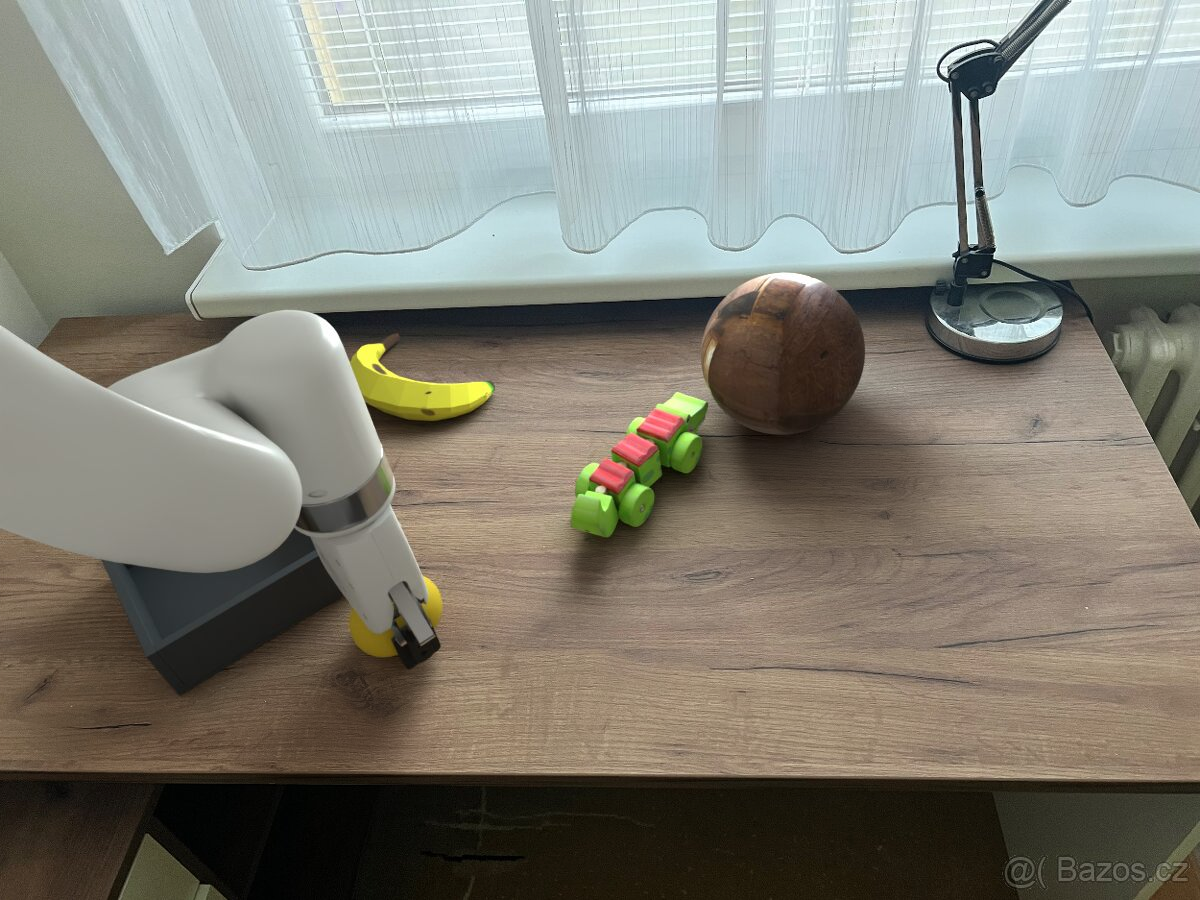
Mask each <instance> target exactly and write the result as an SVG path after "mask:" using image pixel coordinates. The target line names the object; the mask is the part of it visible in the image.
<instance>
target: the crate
mask: <svg viewBox="0 0 1200 900" xmlns="http://www.w3.org/2000/svg"><path fill="white" fill-rule="evenodd" d="M100 560H101V563H102V565H103V567H104V569H105V572H106V573H107V576H108V578H109V580H110V582H111V584H112V587H113V588H114V591H115V594H116V596H117V597H118V599H119V602H120V604H121V606H122V609H123V610H124V612H125V615H126V617H127V619H128V621H129V623H130V625H131V627H132V629H133V632H134V634H135V636H136V638H137V640H138V642H139V645H140V647H141V649H142V651H143V653H144V655H145V657H146V659H147V660H148V661H149V662H150V663H151V665H152V666H153V667H154V668H155V670H156V671H157V672H158V673H159V674H160V675H161V677H162V678H163V679H164V680H165V681H166V682H167V684H168V685H169V686H170V687H171V689H172V690H173V691H174V692H175V693H176V694H177V695H178V697H179V696H180V697H181V696H183V694H186V693H187V692H189V691H190V690H193V688H195V687H197V686H198V685H200V684H201V683H203V682H204V681H206V680H208V679H209V678H211V677H213V676H214V675H216V674H217V673H219V672H221V671H223V670H224V669H226V668H227V667H229V666H230V665H231V666H232V664H234V663H235V662H237V661H239V660H240V659H242V658H244V657H245V656H247V655H249V654H251V653H252V652H253V651H255V650H256V649H259V648H260V647H261V646H263V645H265V644H266V643H268V642H269V641H271V640H273V639H274V638H276V637H277V636H279V635H281V634H283V633H284V632H286V631H287V630H289V629H291V628H292V627H294V626H296V625H298V623H301V622H302V621H304V620H305V619H307V618H309V617H311V615H313V614H315V613H316V612H318V611H320V610H321V609H323V608H325V607H326V606H328V605H329V604H331V603H333V602H334V601H336V600H337V599H339V598H341V597H342V596H344V595H343V593H342V592H341V591H340V589H339V588H338V586H337V585H336V584H335V582H334V581H333V579H332V578H331V576H330V575H329V573H328V572H327V570H326V569H325V567H324V565H323V563H322V561H321V559H320V557H319V555H318V553H317V551H316V548H315V546H314V544H313V542H312V540H311V537H310V536H307V535H305V534H303V533H300V532H299V531H297V530H296V529H295V528H293V530H292V531H291V533H290V535H289V536H288V538H287V539H286V540H285V541H284V542H283V543H282V544H281V545H280V546H279V547H278V548H277V549H276V550H274V551H273V552H272V553H270V554H269V555H268V556H266V557H264V558H263V559H261V560H259V561H257V562H255V563H253V564H250V565H248V566H245V567H242V568H239V569H234V570H230V571H225V572H213V573H192V572H181V571H173V570H165V569H158V568H151V567H144V566H137V565H132V564H124V563H117V562H112V561H107V560H102V559H100Z"/></svg>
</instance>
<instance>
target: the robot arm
mask: <svg viewBox="0 0 1200 900" xmlns="http://www.w3.org/2000/svg"><path fill="white" fill-rule="evenodd" d="M349 360H350V359H349V357H348V355H347V352H346V348H345V347H344V344H343V342H342V340H341V338H340V336H339V334H338V332H337V330H336V329H335V328H334V327H333V326H332V325H331V324H330V323H329V322H328V321H327V320H326V319H324V318H323V317H321V316H320V315H318V314H315V313H312V312H309V311H304V310H297V309H282V310H275V311H271V312H266V313H263V314H260V315H257V316H254V317H252V318H250V319H248V320H246V321H244V322H243V323H241V324H239V325H238V326H236V327H235V328H234V329H233V330H231V331H230V332H229V333H228V334H227V335H226V336H225V337H224V338H223V339H222V340H220V341H219V342H218V343H216V344H213V345H211V346H208V347H206V348H203V349H201V350H198V351H195V352H193V353H190V354H187V355H184V356H181V357H178V358H176V359H173V360H170V361H167V362H164V363H161V364H158V365H155V366H152V367H150V368H146V369H144V370H141V371H139V372H137V373H136V372H135V373H133V374H131V375H129V376H126V377H124V378H122V379H120V380H118V381H116V382H113V384H111V385H109V386H108V387H104V386H102V385H101V384H99V383H96V382H94V381H92V380H91V379H89V378H86V377H84V376H83V375H81V374H79V373H77V372H76V371H74V370H72V369H70V368H68V367H67V366H66V365H63V364H62V363H60V362H58V361H56V360H54V359H53V358H52V357H50V356H48V355H46V354H45V353H43V352H42V351H40V350H39V349H37V348H35V347H34V346H32V345H31V344H29V343H28V342H26V340H23V339H22V338H20V337H18V336H17V335H15V334H14V333H13V332H11V331H10V330H8V328H5V327H4V326H2V325H1V324H0V529H1V530H3V531H7V532H9V533H12V534H15V535H18V536H21V537H24V538H26V539H28V540H32V541H35V542H38V543H39V544H44V545H46V546H50V547H53V548H56V549H60V550H62V551H67V552H68V553H69V552H70V553H72V554H76V555H81V556H85V557H89V558H93V559H97V560H101V559H102V560H107V561H112V562H117V563H124V564H132V565H137V566H144V567H151V568H158V569H165V570H173V571H181V572H192V573H213V572H225V571H230V570H234V569H239V568H242V567H245V566H248V565H250V564H253V563H255V562H257V561H259V560H261V559H263V558H264V557H266V556H268V555H269V554H270V553H272V552H273V551H274V550H276V549H277V548H278V547H279V546H280V545H281V544H282V543H283V542H284V541H285V540H286V539H287V538H288V536H289V535H290V533H291V531H292V530H293V528H295V529H296V530H297V531H299V532H300V533H303V534H305V535H307V536H310V537H311V540H312V542H313V544H314V546H315V548H316V551H317V553H318V555H319V557H320V559H321V561H322V563H323V565H324V567H325V569H326V570H327V572H328V573H329V575H330V576H331V578H332V579H333V581H334V582H335V584H336V585H337V586H338V588H339V589H340V591H341V592H342V593H343V595H342V596H343V597H344V598H345V599H346V600H347V602H348V603H349V605H350V606H351V608H353V609H354V610H355V611H356V613H357V614H358V616H359V617H360V618H361V620H362V621H363V622H364V624H365V625H366V626H367V627H368V629H369V630H370V631H371V632H373V633H376V634H382V633H383V632H385V631H387V630H388V629H390V630H391V632H392V634H393V636H394V637H393V638H392V639H391V641H392V643H393V645H394V647H395V649H396V651H397V653H398V655H397V656H398V657H399V660H400V661H401V663H402V665H403V667H404V668H405V669H406V670H407V671H409V670H411V669H413V668H415V667H416V666H417V665H419V664H422V663H424V662H426V661H428V660H429V659H430V658H431V657H432V656H433V655H434V654H435V653H436V652H438V651H439V650H440V649H441V648H442V645H441V642H440V640H439V638H438V635H437V633H436V631H435V629H434V628H433V625H432V623H431V621H430V619H429V618H428V616H427V615H426V613H425V611H424V609H423V607H422V605H421V604H423V603H424V604H425V605H426V604H427V602H428V597H429V594H428V590H427V587H426V584H425V581H424V578H423V576H424V575H423V574H422V570H421V569H420V566H419V564H418V561H417V559H416V557H415V554H414V552H413V550H412V548H411V546H410V543H409V541H408V538H407V536H406V534H405V533H404V530H403V526H402V524H401V523H400V522H399V520H398V517H397V515H396V514H395V511H394V509H393V507H392V505H391V503H392V501H393V499H394V496H395V493H396V486H397V485H396V478H395V476H394V473H393V470H392V468H391V465H390V463H389V460H388V458H387V455H386V452H385V450H384V447H383V444H382V443H381V441H380V438H379V435H378V433H377V430H376V428H375V425H374V422H373V420H372V417H371V414H370V412H369V409H368V407H367V404H366V402H365V401H364V399H363V396H362V394H361V391H360V388H359V386H358V383H357V381H356V378H355V375H354V373H353V370H352V367H351V365H350V362H349ZM422 575H423V576H422ZM392 602H393V604H392ZM399 616H401V617H402V619H403V620H404V622H405V623H406V624H405V625H404V626H402V627H401V628H399V626H398V625H397V623H396V621H395V619H396V618H398V617H399Z"/></svg>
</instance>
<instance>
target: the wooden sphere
mask: <svg viewBox="0 0 1200 900" xmlns="http://www.w3.org/2000/svg"><path fill="white" fill-rule="evenodd" d="M863 332H864V331H863V329H862V326H861V323H860V320H859V318H858V316H857V314H856V313H855V311H854V309H853V307H852V306H851V305H850V303H849V302H848V301H847V300H846V299H845V297H843V295H842V294H841V293H840V292H838V290H836V289H835V288H833V287H831V286H830V285H829V284H827V283H825V282H823V281H822V280H819V279H817V278H815V277H813V276H808V275H805V274H801V273H795V272H777V273H775V272H774V273H768V274H765V275H760V276H758V277H754V278H751V279H750V280H747V281H746V282H744V283H741V284H740V285H739V286H738V287H737V286H736V287H735V289H733V290H732V291H731V292H729V294H727V295H726V296H725V297H724V298H723V299H722V301H720V302H719V304H718V305H717V306H716V307H715V309H714V311H713V312H712V314H711V316H710V318H709V319H708V321H707V323H706V326H705V329H704V332H703V334H702V335H703V336H702V339H701V346H700V363H701V364H700V365H701V371H702V376H703V379H704V382H705V385H706V387H707V389H708V391H709V393H710V395H711V397H712V398H713V400H714V401H715V403H716V404H717V405H718V406H719V408H720V409H721V410H722V411H723V412H724V413H725V414H726V415H727V416H728V417H730V418H731V419H732V420H734V421H735V422H737V423H738V424H740V425H742V426H743V427H746V428H748V429H750V430H753V431H756V432H759V433H762V434H769V435H778V436H779V435H780V436H783V435H785V436H786V435H794V434H799V433H803V432H807V431H810V430H813V429H815V428H817V427H819V426H822V425H823V424H825V423H826V422H828V421H829V420H830V419H832V418H834V417H835V416H836V415H837V414H838V413H840V411H841V410H842V409H843V408H844V407H845V406H846V405H847V404H848V403H849V401H850V400H851V398H852V397H853V395H854V394H855V392H856V390H857V388H858V386H859V384H860V381H861V378H862V376H863V372H864V367H865V361H866V342H865V336H864V333H863Z"/></svg>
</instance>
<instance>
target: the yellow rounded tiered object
mask: <svg viewBox="0 0 1200 900" xmlns="http://www.w3.org/2000/svg"><path fill="white" fill-rule="evenodd" d="M422 576H423V578H424V581H425V584H426V587H427V590H428V594H429V597H428V602H427V604H426V605H425V604H424V603H423V604H421V605H422V607H423V609H424V611H425V613H426V615H427V616H428V618H429V619H430V621H431V623H432V625H433V628H434V630H435V629H436V628H437V626H438V624H439V622H440V621H441V620H440V619H441V618H442V614H443V599H442V595H441V592H440V590H439V588H438V587H437V585H436V584H435V583H434V582H433V581H432V580H431V579H430V578H428V577H426V576H424V575H423V574H422ZM392 604H393V602H392ZM395 621H396V623H397V625H398V626H399V628H401V627H402V626H404V625H405V624H406V623H405V622H404V620H403V619H402V617H401V616H399V617H398V618H396V619H395ZM348 629H349V633H350V636H351V638H352V640H353V642H354V643H355V645H356V646H357V647H358V648H359V649H361V651H363V652H364V653H366V654H367V655H369V656H373V657H376V658H390V657H395V656H399V655H398V653H397V651H396V649H395V647H394V645H393V643H392V641H391V639H392V638H393V637H394V636H393V634H392V632H391V630H390V629H388V630H387V631H385V632H383V633H382V634H376V633H373V632H371V631H370V630H369V629H368V627H367V626H366V625H365V624H364V622H363V621H362V620H361V618H360V617H359V616H358V614H357V613H356V611H355V610H354V609H353V607H351V611H350V614H349V617H348Z"/></svg>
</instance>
